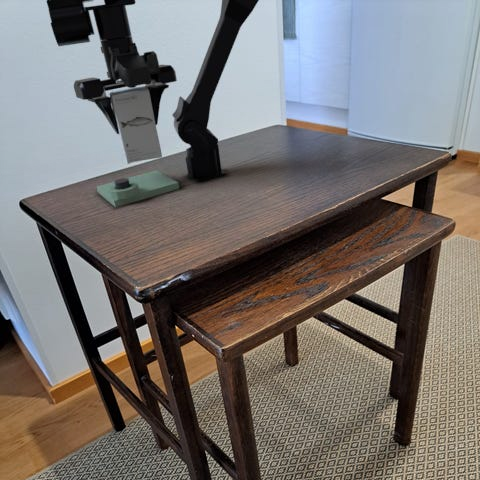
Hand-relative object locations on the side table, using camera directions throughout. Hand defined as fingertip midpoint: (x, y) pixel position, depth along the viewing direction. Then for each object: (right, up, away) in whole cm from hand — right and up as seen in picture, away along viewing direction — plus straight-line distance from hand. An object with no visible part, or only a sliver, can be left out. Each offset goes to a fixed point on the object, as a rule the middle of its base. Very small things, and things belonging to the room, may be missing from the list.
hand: (137, 129), depth 90 cm
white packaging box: (+1, -5, +3) cm, 6 cm away
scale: (-1, -11, +5) cm, 12 cm away
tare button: (-2, -12, -1) cm, 12 cm away
